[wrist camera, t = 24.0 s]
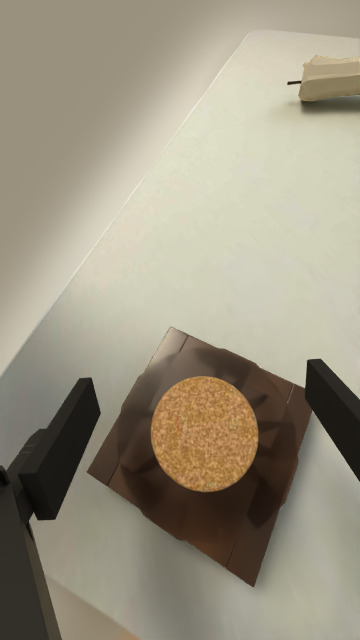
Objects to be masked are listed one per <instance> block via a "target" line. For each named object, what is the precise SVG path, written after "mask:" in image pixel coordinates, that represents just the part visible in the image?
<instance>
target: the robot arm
mask: <svg viewBox="0 0 360 640" xmlns="http://www.w3.org/2000/svg"><path fill="white" fill-rule="evenodd" d="M305 399H306V401H307V402H308V404H309V406H310V407H311V409H312V410H313V412H314V413H315V415H316V416H317V418H318V419H319V421H320V422H321V424H322V425H323V427H324V428H325V430H326V431H327V433H328V434H329V436H330V437H331V439H332V440H333V442H334V443H335V445H336V447H337V448H338V450H339V451H340V453H341V454H342V456H343V457H344V459H345V460H346V462H347V463H348V465H349V466H350V468H351V469H352V471H353V472H354V474H355V475H356V477H357V478H358V480H359V481H360V399H359V398H358V397H357V396H356V395H355V394H354V393H353V392H352V391H351V390H350V389H349V388H348V387H347V386H346V385H345V384H344V383H343V382H342V381H341V380H340V378H339V377H338V376H337V375H336V374H335V373H334V372H333V371H332V370H331V369H330V368H329V367H328V366H327V365H326V364H325V363H324V362H323V361H322V360H321V359H310V360H307V372H306V386H305ZM100 414H101V412H100V408H99V404H98V401H97V397H96V393H95V389H94V385H93V381H92V378H91V377H89V378H79V380H78V381H77V383H76V384H75V386H74V387H73V389H72V390H71V392H70V394H69V395H68V397H67V398H66V400H65V401H64V403H63V404H62V406H61V407H60V409H59V410H58V412H57V413H56V415H55V417H54V418H53V420H52V421H51V423H50V424H49V426H48V427H47V428H46V429H39V430H38V431H36V432H35V433H34V434H33V435H32V436H31V437H30V438H29V439H28V441H27V442H26V444H25V445H24V447H23V448H22V449H21V451H20V452H19V455H17V456H16V458H15V459H14V461H13V462H12V463H11V465H10V466H9V468H8V469H7V471H5V469H4V467H3V466H0V640H62V638H61V635H60V631H59V627H58V624H57V620H56V617H55V613H54V609H53V606H52V602H51V598H50V594H49V591H48V587H47V584H46V580H45V576H44V572H43V569H42V565H41V561H40V558H39V554H38V550H37V547H36V543H35V539H34V536H33V532H32V528H31V525H30V523H29V520H30V518H31V516H32V514H33V512H34V513H35V515H36V518H37V520H38V521H39V520H55V519H56V517H57V514H58V512H59V510H60V507H61V505H62V503H63V500H64V498H65V496H66V493H67V491H68V488H69V486H70V484H71V481H72V479H73V477H74V474H75V472H76V470H77V467H78V465H79V463H80V460H81V458H82V456H83V453H84V451H85V449H86V446H87V444H88V442H89V439H90V437H91V435H92V432H93V430H94V428H95V425H96V423H97V421H98V418H99V416H100Z"/></svg>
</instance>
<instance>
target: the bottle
mask: <svg viewBox="0 0 360 640" xmlns="http://www.w3.org/2000/svg"><path fill="white" fill-rule="evenodd" d="M151 441H152V446H153V450H154V453H155V455H156V458H157V460H158V462H159V464H160V466H161V467H162V469H163V470H164V471H165V472H166V474H167V475H168V476H169V477H171V478H172V479H173V480H174V481H175V482H176V483H178V484H180V485H182V486H183V487H185V488H187V489H191V490H194V491H200V492H213V491H219V490H222V489H225V488H227V487H229V486H231V485H233V484H234V483H236V482H237V481H238V480H239V479H240V478H242V477H243V475H244V474H245V473H246V472H247V470H248V469H249V467H250V466H251V464H252V462H253V460H254V457H255V454H256V451H257V446H258V427H257V422H256V417H255V415H254V412H253V410H252V408H251V406H250V405H249V403H248V401H247V400H246V398H245V397H244V396H243V395H242V394H241V393H240V392H239V391H238V390H237V389H236V388H235V387H234V386H232V385H230V384H229V383H227V382H225V381H223V380H220V379H218V378H214V377H206V376H197V377H192V378H188V379H185V380H183V381H180V382H179V383H177V384H175V385H174V386H173V387H171V388H170V389H169V390H168V391H167V392H166V393H165V394H164V395H163V397H162V398H161V399H160V401H159V403H158V405H157V407H156V409H155V411H154V415H153V418H152V424H151Z"/></svg>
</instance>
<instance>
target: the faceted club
mask: <svg viewBox="0 0 360 640" xmlns="http://www.w3.org/2000/svg"><path fill="white" fill-rule="evenodd" d="M303 66H304V72H303V77H302V81H293V82H288V83H287V85H291V84H298V83H299V84H301V87H300V91H299V95H298V96H299V97H300V99H301V100H302V101H316V100H321V99H326V98H331V97H339V96H350V95H360V57H354V58H346V59H336V58H330V57H323V56H315V57H314V58H312V59H311V60H310V61H308V62H306V63H304V64H303Z"/></svg>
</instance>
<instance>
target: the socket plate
mask: <svg viewBox="0 0 360 640" xmlns="http://www.w3.org/2000/svg"><path fill="white" fill-rule="evenodd" d="M197 376H206V377H214V378H218V379H220V380H223V381H225V382H227V383H229V384H230V385H232V386H234V387H235V388H236V389H237V390H238V391H239V392H240V393H241V394H242V395H243V396H244V397H245V398H246V400H247V401H248V403H249V405H250V406H251V408H252V410H253V412H254V415H255V417H256V422H257V427H258V446H257V451H256V454H255V457H254V460H253V462H252V464H251V466H250V467H249V469H248V470H247V472H246V473H245V474H244V475H243V477H242V478H240V479H239V480H238V481H237V482H236V483H234V484H233V485H231V486H229V487H227V488H225V489H222V490H219V491H213V492H200V491H194V490H191V489H187V488H185V487H183V486H182V485H180V484H178V483H176V482H175V481H174V480H173V479H172V478H171V477H169V476H168V475H167V474H166V472H165V471H164V470H163V469H162V467H161V466H160V464H159V462H158V460H157V458H156V455H155V453H154V450H153V446H152V441H151V424H152V418H153V415H154V411H155V409H156V407H157V405H158V403H159V401H160V399H161V398H162V397H163V395H164V394H165V393H166V392H167V391H168V390H169V389H170V388H171V387H173V386H174V385H175V384H177V383H179V382H180V381H183V380H185V379H188V378H192V377H197ZM311 413H312V409H311V407H310V406H309V404H308V402H307V401H306V399H305V388H303V387H301V386H298V385H296V384H293V383H292V382H289V381H287V380H285V379H283V378H281V377H279V376H277V375H274V374H272V373H270V372H268V371H266V370H264V369H261V368H260V367H259V366H258V365H257V364H256V363H254V362H252V361H250V360H248V359H245V358H243V357H241V356H239V355H237V354H235V353H232V352H230V351H228V350H226V349H219V348H216V347H214V346H212V345H210V344H207V343H205V342H203V341H201V340H199V339H197V338H194V337H192V336H190V335H188V334H186V333H184V332H182V331H180V330H177V329H175V328H173V327H170V328H169V330H168V332H167V333H166V335H165V337H164V339H163V340H162V342H161V344H160V346H159V347H158V349H157V351H156V353H155V354H154V356H153V358H152V360H151V361H150V363H149V365H148V366H147V368H146V370H145V372H144V373H143V374H142V375H140V377H138V379H137V381H136V382H135V384H134V386H133V388H132V389H131V391H130V393H129V395H128V396H127V398H126V400H125V401H124V403H123V405H122V408H121V413H120V415H119V417H118V419H117V420H116V422H115V424H114V426H113V427H112V429H111V431H110V432H109V434H108V436H107V438H106V439H105V441H104V443H103V445H102V446H101V448H100V450H99V452H98V453H97V455H96V457H95V459H94V460H93V462H92V464H91V465H90V467H89V469H88V471H87V473H88V474H90V475H91V476H93V477H94V478H96V479H97V480H99V481H100V482H102V483H103V484H104V485H106V486H107V485H108V487H109V488H110V489H112V490H113V491H115V492H116V493H118V494H119V495H121V496H122V497H123V498H125V499H126V500H128V501H129V502H131V503H132V504H134V505H135V506H136V507H138V508H139V509H140V510H141V512H142V513H143V515H145V517H146V518H148V519H149V520H151V521H152V522H153V523H155V524H156V525H158V526H159V527H161V528H162V529H164V530H165V531H166V532H168V533H169V534H171V535H172V536H174V537H175V538H176V539H179V540H183V541H187V542H189V543H190V544H191V545H193V546H194V547H196V548H197V549H199V550H200V551H202V552H203V553H204V554H206V555H207V556H209V557H210V558H212V559H213V560H215V561H216V562H217V563H219V564H220V565H222V566H223V567H226V569H227V570H229V571H230V572H232V573H233V574H234V575H236V576H237V577H239V578H240V579H242V580H243V581H245V582H246V583H247V584H249V585H250V586H252V587H254V585H255V582H256V579H257V576H258V573H259V570H260V567H261V564H262V561H263V558H264V555H265V552H266V549H267V546H268V543H269V540H270V537H271V534H272V531H273V528H274V525H275V522H276V519H277V516H278V513H279V510H280V507H281V506H282V505H283V504H284V503H285V501H286V499H287V496H288V492H289V489H290V486H291V483H292V480H293V477H294V474H295V471H296V468H297V465H298V452H299V449H300V446H301V443H302V440H303V437H304V434H305V431H306V428H307V425H308V422H309V419H310V416H311Z"/></svg>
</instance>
